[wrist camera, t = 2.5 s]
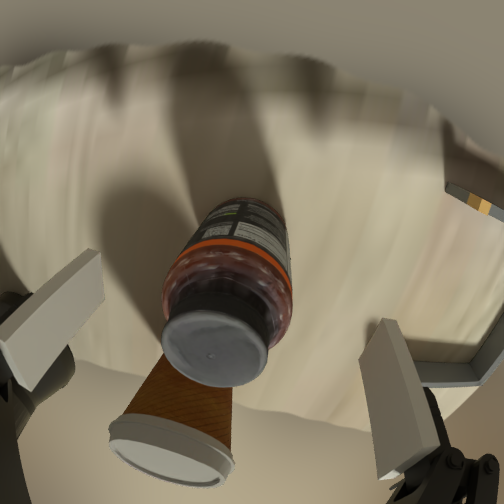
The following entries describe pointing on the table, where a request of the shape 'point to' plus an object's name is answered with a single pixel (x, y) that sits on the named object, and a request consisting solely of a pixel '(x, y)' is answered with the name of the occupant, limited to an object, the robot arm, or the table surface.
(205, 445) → the disposable coffee cup
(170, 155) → the table surface
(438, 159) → the table surface
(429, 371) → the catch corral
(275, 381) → the table surface
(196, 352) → the supplement bottle
